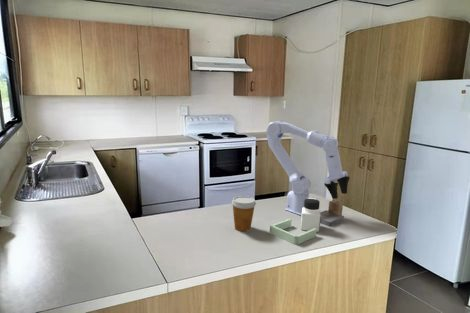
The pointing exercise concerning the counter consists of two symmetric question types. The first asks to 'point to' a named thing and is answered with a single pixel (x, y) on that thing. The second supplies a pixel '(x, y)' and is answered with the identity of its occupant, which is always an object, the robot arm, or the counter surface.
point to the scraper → (332, 214)
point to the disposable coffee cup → (243, 212)
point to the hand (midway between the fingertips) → (339, 195)
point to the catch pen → (278, 231)
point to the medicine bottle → (310, 215)
